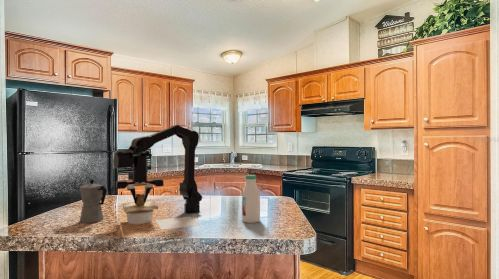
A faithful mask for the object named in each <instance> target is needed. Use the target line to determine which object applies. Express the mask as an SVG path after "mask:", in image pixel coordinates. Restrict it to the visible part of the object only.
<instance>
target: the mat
mask: <svg viewBox="0 0 499 279" xmlns="http://www.w3.org/2000/svg"><path fill="white" fill-rule="evenodd" d="M154 221H155V223H156V224H157V226H158V227H159V229H160V230H169V229H170V230H171V229H179V228H188V227H197V226H202V224H201V223H200V222H198V221H197V220H196V219H195V218H194V217H193V216H183V217H175V218H174V217H173V218H165V219H164V218H161V219H155V220H154Z"/></svg>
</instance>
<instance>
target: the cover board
mask: <svg viewBox="0 0 499 279" xmlns="http://www.w3.org/2000/svg"><path fill="white" fill-rule="evenodd" d="M122 207H123V211H124V213H126V212H130V211H141V210H152V209H153V210H159V205H157V203H156V201H153V200H152V201H146V202H145V204H144V193H136V204H135V202H128V203H127V202H126V203H122Z"/></svg>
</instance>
